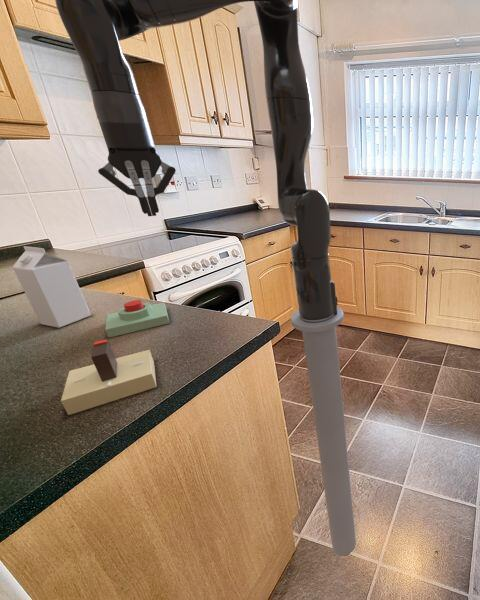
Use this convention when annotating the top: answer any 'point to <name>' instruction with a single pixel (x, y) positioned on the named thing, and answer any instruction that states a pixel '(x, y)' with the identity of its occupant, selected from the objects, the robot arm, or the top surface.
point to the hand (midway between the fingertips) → (152, 215)
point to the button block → (136, 319)
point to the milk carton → (50, 288)
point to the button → (133, 306)
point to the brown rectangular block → (104, 360)
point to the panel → (108, 383)
